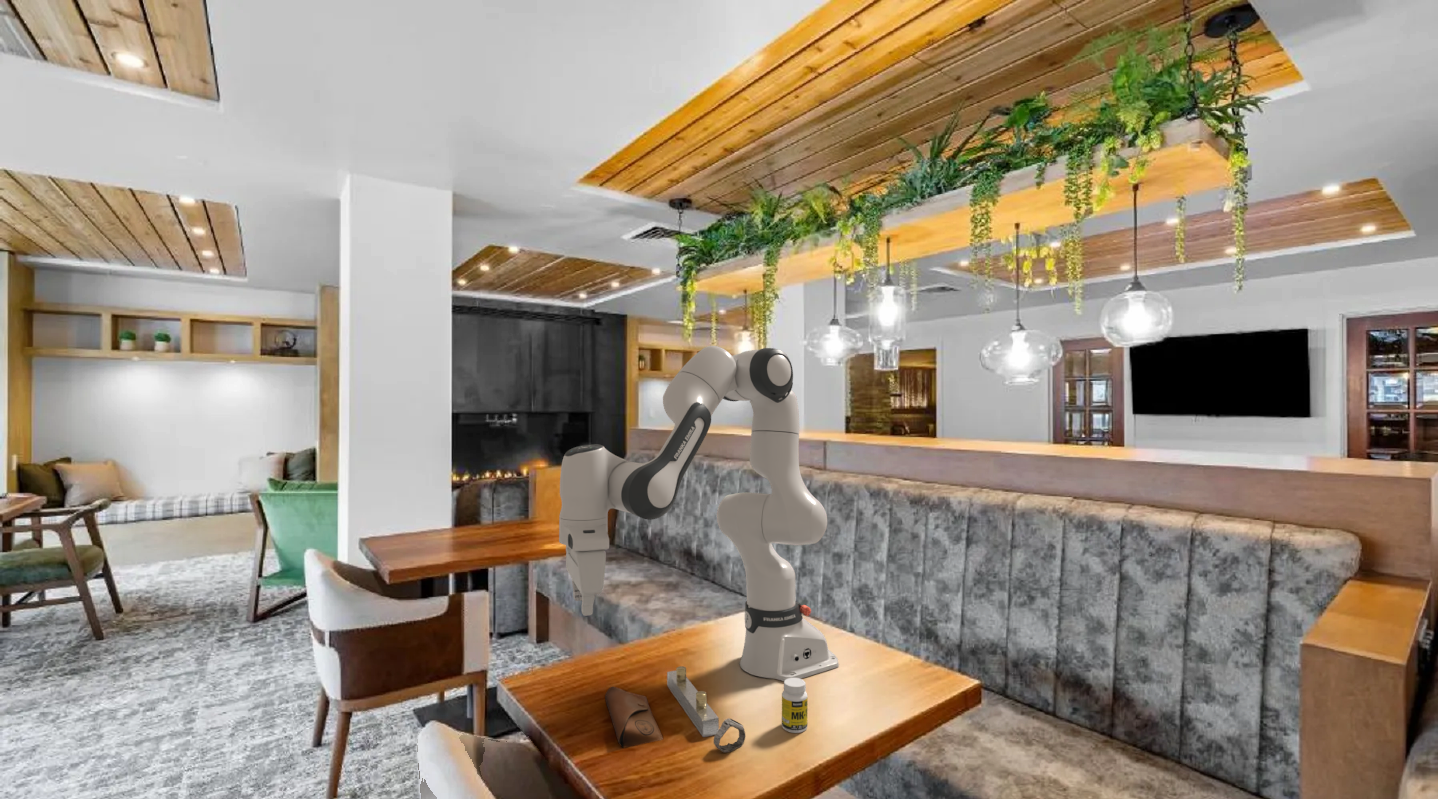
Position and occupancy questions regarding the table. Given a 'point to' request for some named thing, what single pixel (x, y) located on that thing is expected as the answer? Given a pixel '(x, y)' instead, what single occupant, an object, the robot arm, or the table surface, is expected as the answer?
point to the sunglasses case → (631, 718)
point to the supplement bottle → (794, 705)
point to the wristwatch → (724, 727)
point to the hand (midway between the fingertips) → (582, 606)
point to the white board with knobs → (693, 702)
